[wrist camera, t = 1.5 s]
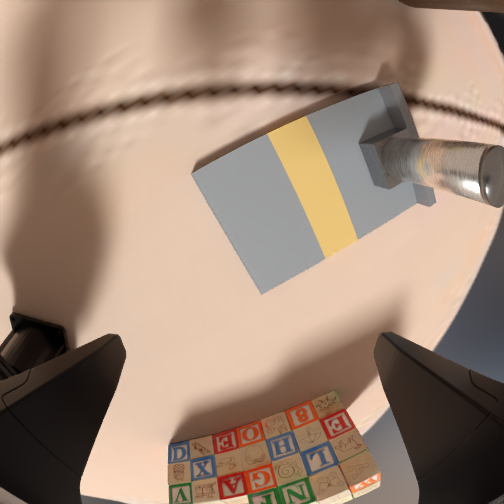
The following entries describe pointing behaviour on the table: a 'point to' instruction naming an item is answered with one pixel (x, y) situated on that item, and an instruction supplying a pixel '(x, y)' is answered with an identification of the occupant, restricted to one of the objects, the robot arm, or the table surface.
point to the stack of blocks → (277, 460)
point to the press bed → (308, 187)
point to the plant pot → (459, 4)
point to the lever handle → (437, 165)
